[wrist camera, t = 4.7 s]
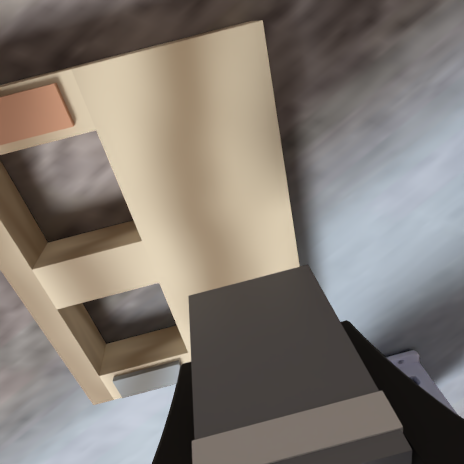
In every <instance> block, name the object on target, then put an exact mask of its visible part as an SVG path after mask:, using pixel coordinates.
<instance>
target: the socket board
mask: <svg viewBox="0 0 464 464" xmlns="http://www.w3.org/2000/svg"><path fill="white" fill-rule="evenodd" d="M95 130H96V131H97V133H98V135H99V138H100V140H101V143H102V145H103V148H104V150H105V152H106V155H107V157H108V160H109V162H110V165H111V167H112V169H113V172H114V174H115V177H116V179H117V181H118V184H119V186H120V189H121V191H122V194H123V196H124V198H125V201H126V203H127V206H128V208H129V211H130V213H131V215H132V218H133V221H129V222H125V223H121V224H118V225H114V226H110V227H106V228H102V229H98V230H94V231H91V232H87V233H83V234H79V235H75V236H71V237H68V238H64V239H60V240H56V241H52V242H47V241H46V239H45V237H44V235H43V234H42V232H41V230H40V228H39V227H38V225H37V223H36V221H35V220H34V218H33V216H32V215H31V213H30V211H29V209H28V208H27V206H26V204H25V202H24V201H23V199H22V197H21V195H20V194H19V192H18V190H17V188H16V187H15V185H14V183H13V182H12V180H11V178H10V176H9V175H8V173H7V171H6V169H5V168H4V166H3V164H2V162H1V161H0V270H1V271H2V273H3V274H4V276H5V277H6V279H7V280H8V282H9V283H10V284H11V286H12V287H13V289H14V290H15V292H16V293H17V295H18V296H19V298H20V299H21V300H22V302H23V303H24V305H25V306H26V308H27V309H28V311H29V312H30V313H31V315H32V316H33V318H34V319H35V321H36V322H37V324H38V325H39V327H40V328H41V329H42V331H43V332H44V334H45V335H46V337H47V338H48V340H49V341H50V343H51V344H52V345H53V347H54V348H55V350H56V351H57V353H58V354H59V356H60V357H61V358H62V360H63V361H64V363H65V364H66V366H67V367H68V369H69V370H70V372H71V373H72V374H73V376H74V377H75V379H76V380H77V382H78V383H79V385H80V386H81V388H82V389H83V390H84V392H85V393H86V395H87V396H88V398H89V399H90V401H91V402H92V404H93V405H96V404H99V403H103V402H107V401H111V400H115V399H118V398H125V397H129V396H132V395H136V394H140V393H144V392H147V391H151V390H155V389H159V388H163V387H166V386H170V385H174V384H177V379H178V375H179V370H180V366H181V365H182V364H183V363H187V362H191V345H190V322H189V299H188V296H189V295H193V294H197V293H201V292H205V291H208V290H212V289H216V288H220V287H224V286H228V285H231V284H235V283H239V282H243V281H247V280H251V279H254V278H258V277H262V276H266V275H270V274H274V273H277V272H281V271H285V270H289V269H293V268H297V267H300V266H299V259H298V252H297V246H296V239H295V232H294V226H293V219H292V212H291V206H290V199H289V192H288V186H287V179H286V172H285V166H284V159H283V152H282V146H281V139H280V132H279V126H278V119H277V112H276V106H275V99H274V92H273V86H272V79H271V72H270V66H269V59H268V52H267V46H266V39H265V33H264V26H263V20H260V21H249V22H245V23H241V24H237V25H233V26H229V27H226V28H222V29H218V30H214V31H210V32H206V33H202V34H198V35H194V36H190V37H186V38H182V39H179V40H175V41H171V42H167V43H163V44H159V45H155V46H151V47H147V48H143V49H139V50H136V51H132V52H128V53H124V54H120V55H116V56H112V57H108V58H104V59H100V60H96V61H93V62H89V63H85V64H81V65H77V66H73V67H69V68H65V69H61V70H57V71H53V72H49V73H46V74H42V75H38V76H34V77H30V78H26V79H22V80H18V81H14V82H10V83H6V84H3V85H0V155H2V154H6V153H10V152H14V151H18V150H22V149H26V148H29V147H33V146H37V145H41V144H45V143H49V142H53V141H57V140H61V139H64V138H68V137H72V136H76V135H80V134H84V133H88V132H92V131H95ZM156 283H160V286H161V288H162V291H163V293H164V295H165V298H166V300H167V303H168V305H169V307H170V310H171V312H172V315H173V317H174V320H175V322H176V324H177V325H176V326H173V327H169V328H165V329H161V330H157V331H154V332H150V333H146V334H142V335H138V336H135V337H131V338H127V339H123V340H119V341H116V342H112V343H108V344H106V343H105V341H104V340H103V338H102V336H101V334H100V333H99V331H98V329H97V327H96V326H95V324H94V322H93V320H92V319H91V317H90V315H89V314H88V312H87V310H86V308H85V307H84V305H83V303H84V302H87V301H91V300H95V299H99V298H103V297H106V296H110V295H114V294H118V293H122V292H126V291H129V290H133V289H137V288H141V287H145V286H148V285H152V284H156Z"/></svg>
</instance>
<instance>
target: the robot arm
mask: <svg viewBox="0 0 464 464" xmlns="http://www.w3.org/2000/svg"><path fill="white" fill-rule="evenodd" d="M341 324H342V326H343V328H344V330H345V331H346V333H347V335H348V337H349V338H350V340H351V342H352V344H353V346H354V347H355V349H356V351H357V353H358V354H359V356H360V358H361V360H362V362H363V363H364V365H365V367H366V369H367V370H368V372H369V374H370V376H371V378H372V379H373V381H374V383H375V385H376V386H377V388H378V390H379V391H383V393H384V394H385V396H386V398H387V400H388V401H389V403H390V405H391V407H392V408H393V410H394V412H395V414H396V415H397V417H398V419H399V421H400V422H401V424H402V426H403V434H404V436H405V438H406V440H407V442H408V443H409V445H410V447H411V449H412V462H411V464H464V419H463V418H461V417H460V416H459V415H458V414H457V413H456V412H455V410H454V409H453V408H452V406H451V405H450V403H449V402H448V401H447V399H446V398H445V397H444V395H443V394H442V393H441V391H440V390H439V388H438V387H437V386H436V384H435V383H434V382H433V380H432V379H431V377H430V376H429V375H428V373H427V372H426V371H425V369H424V368H423V366H422V365H421V364H420V362H419V357H420V356H419V354H418V353H417V352H416V351H414V350H412V351H408V352H404V353H400V354H396V355H393V356H389V357H385V356H384V355H383V354H382V353H381V352H380V351H378V350H377V349H376V348H375V347H374V346H373V345H372V344H371V343H370V342H369V341H368V340H367V339H366V338H365V337H364V336H363V335H362V334H361V333H360V332H359V331H358V330H357V329H356V328H355V327H354V326H353V325H352V324H351V323H350V322H349V321H347V320H346V321H343V322H341ZM193 440H195V438H194V415H193V392H192V369H191V362H187V363H183V364H182V365H181V366H180V370H179V375H178V379H177V384H176V388H175V392H174V396H173V400H172V403H171V407H170V411H169V414H168V417H167V420H166V424H165V427H164V430H163V433H162V436H161V439H160V442H159V445H158V448H157V451H156V454H155V456H154V459H153V462H152V464H192V441H193Z"/></svg>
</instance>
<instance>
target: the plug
mask: <svg viewBox="0 0 464 464" xmlns="http://www.w3.org/2000/svg"><path fill="white" fill-rule="evenodd" d="M188 299H189V322H190V345H191V369H192V392H193V415H194V438H195V440H193V441H192V464H411V462H412V449H411V447H410V445H409V443H408V442H407V440H406V438H405V436H404V434H403V426H402V424H401V422H400V421H399V419H398V417H397V415H396V414H395V412H394V410H393V408H392V407H391V405H390V403H389V401H388V400H387V398H386V396H385V394H384V393H383V391H379V390H378V388H377V386H376V385H375V383H374V381H373V379H372V378H371V376H370V374H369V372H368V370H367V369H366V367H365V365H364V363H363V362H362V360H361V358H360V356H359V354H358V353H357V351H356V349H355V347H354V346H353V344H352V342H351V340H350V338H349V337H348V335H347V333H346V331H345V330H344V328H343V326H342V324H341V322H340V321H339V319H338V317H337V315H336V314H335V312H334V310H333V308H332V306H331V305H330V303H329V301H328V299H327V298H326V296H325V294H324V292H323V290H322V289H321V287H320V285H319V283H318V282H317V280H316V278H315V276H314V275H313V273H312V271H311V269H310V267H309V266H308V265H304V266H300V267H297V268H293V269H289V270H285V271H281V272H277V273H274V274H270V275H266V276H262V277H258V278H254V279H251V280H247V281H243V282H239V283H235V284H231V285H228V286H224V287H220V288H216V289H212V290H208V291H205V292H201V293H197V294H193V295H189V296H188Z"/></svg>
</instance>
